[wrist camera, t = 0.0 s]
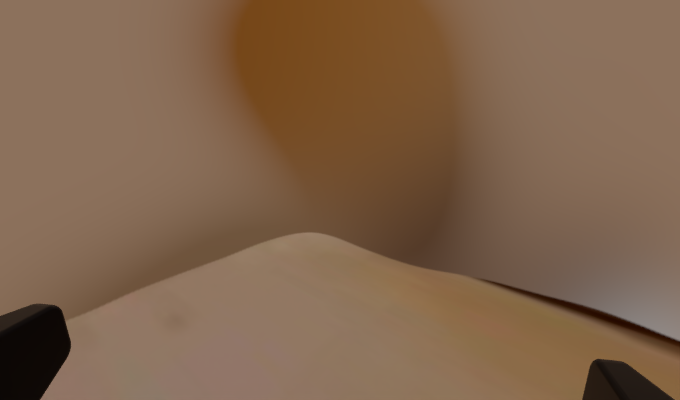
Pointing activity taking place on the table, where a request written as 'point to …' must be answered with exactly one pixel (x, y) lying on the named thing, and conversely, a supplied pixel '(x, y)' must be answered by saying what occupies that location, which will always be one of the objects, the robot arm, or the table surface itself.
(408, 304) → the table surface
